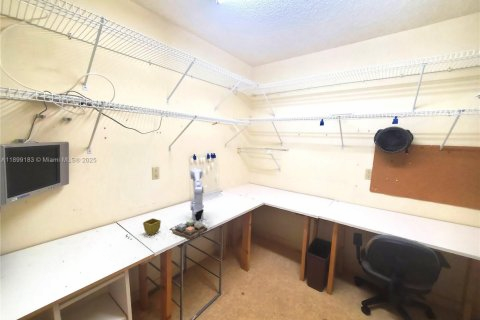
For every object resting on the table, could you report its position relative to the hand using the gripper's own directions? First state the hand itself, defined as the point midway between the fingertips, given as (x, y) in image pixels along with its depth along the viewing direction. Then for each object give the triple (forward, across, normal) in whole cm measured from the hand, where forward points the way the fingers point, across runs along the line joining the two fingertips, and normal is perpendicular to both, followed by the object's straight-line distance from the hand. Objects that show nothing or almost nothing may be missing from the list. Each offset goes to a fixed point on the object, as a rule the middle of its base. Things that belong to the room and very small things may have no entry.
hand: (198, 219), depth 149 cm
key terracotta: (+5, +9, -2) cm, 10 cm away
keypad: (+8, +3, -5) cm, 10 cm away
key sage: (+5, -2, -8) cm, 10 cm away
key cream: (+5, 0, 0) cm, 5 cm away
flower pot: (+9, +13, -30) cm, 34 cm away
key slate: (+5, +6, -10) cm, 13 cm away
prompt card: (+8, 0, -18) cm, 20 cm away
